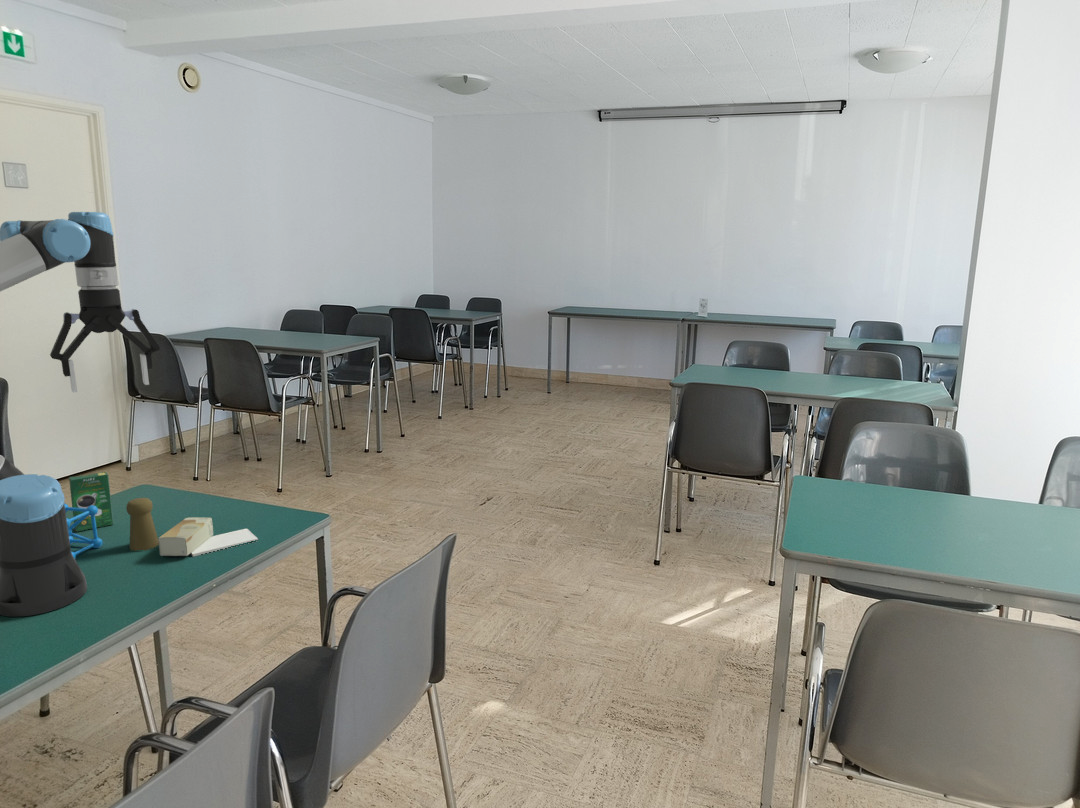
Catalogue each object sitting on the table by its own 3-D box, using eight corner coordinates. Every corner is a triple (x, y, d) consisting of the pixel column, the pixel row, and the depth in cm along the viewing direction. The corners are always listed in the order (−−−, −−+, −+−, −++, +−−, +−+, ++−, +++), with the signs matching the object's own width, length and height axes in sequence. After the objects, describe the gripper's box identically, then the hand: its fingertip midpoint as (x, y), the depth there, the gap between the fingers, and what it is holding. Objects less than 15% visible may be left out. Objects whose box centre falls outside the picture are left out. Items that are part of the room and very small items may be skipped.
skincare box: (212, 517, 174) (186, 537, 162) (214, 534, 175) (188, 556, 163) (184, 517, 175) (157, 537, 163) (186, 534, 175) (159, 556, 164)
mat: (193, 556, 165) (192, 554, 164) (183, 545, 171) (183, 542, 171) (258, 541, 173) (257, 538, 173) (247, 530, 179) (246, 528, 179)
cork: (123, 549, 169) (116, 502, 167) (144, 539, 175) (138, 493, 172) (144, 552, 167) (138, 505, 165) (165, 542, 173) (160, 496, 170)
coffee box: (112, 521, 186) (105, 470, 183) (115, 524, 183) (108, 473, 181) (74, 529, 181) (67, 476, 178) (76, 532, 179) (69, 479, 176)
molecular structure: (70, 564, 161) (63, 520, 159) (30, 560, 163) (23, 517, 161) (105, 546, 171) (99, 504, 169) (67, 542, 173) (61, 501, 171)
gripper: (28, 291, 148) (43, 397, 152) (167, 286, 162) (177, 383, 167) (26, 289, 154) (41, 391, 158) (160, 284, 168) (170, 378, 173)
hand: (111, 387), depth 163 cm, fingers open, 13 cm apart
